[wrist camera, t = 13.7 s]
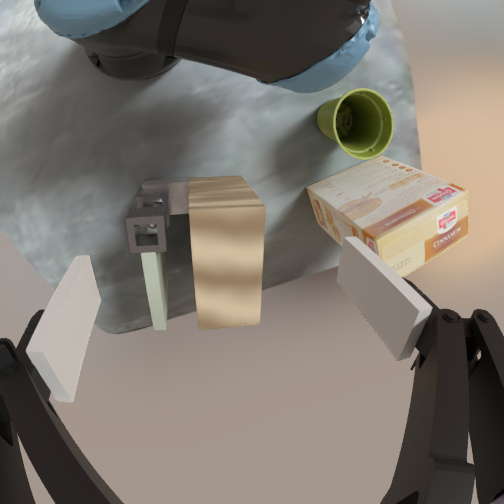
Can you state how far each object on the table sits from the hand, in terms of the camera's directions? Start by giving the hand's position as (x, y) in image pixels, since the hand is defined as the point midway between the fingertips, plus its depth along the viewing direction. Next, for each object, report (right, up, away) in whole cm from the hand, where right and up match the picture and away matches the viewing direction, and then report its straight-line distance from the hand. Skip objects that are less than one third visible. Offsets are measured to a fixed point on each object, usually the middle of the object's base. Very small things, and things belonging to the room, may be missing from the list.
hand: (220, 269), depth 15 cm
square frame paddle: (-12, +2, +26) cm, 28 cm away
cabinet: (-7, +5, +29) cm, 30 cm away
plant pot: (+14, +21, +26) cm, 36 cm away
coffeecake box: (+17, +11, +32) cm, 38 cm away
